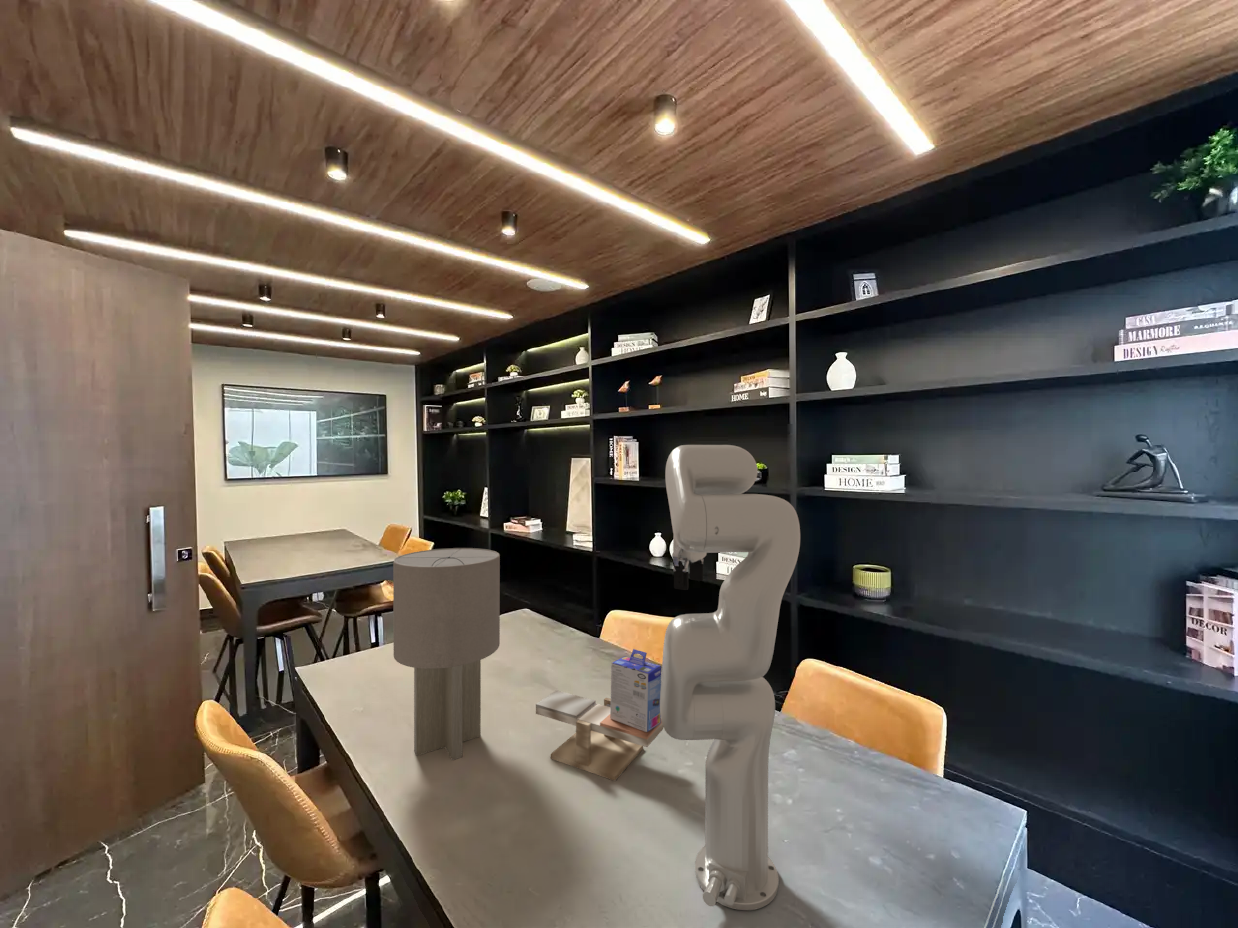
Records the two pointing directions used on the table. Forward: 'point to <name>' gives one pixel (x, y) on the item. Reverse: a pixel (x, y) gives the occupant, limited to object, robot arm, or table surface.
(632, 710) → the ink cartridge box
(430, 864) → the table surface
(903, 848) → the table surface
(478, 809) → the table surface
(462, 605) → the lamp
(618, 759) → the stand
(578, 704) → the beam
